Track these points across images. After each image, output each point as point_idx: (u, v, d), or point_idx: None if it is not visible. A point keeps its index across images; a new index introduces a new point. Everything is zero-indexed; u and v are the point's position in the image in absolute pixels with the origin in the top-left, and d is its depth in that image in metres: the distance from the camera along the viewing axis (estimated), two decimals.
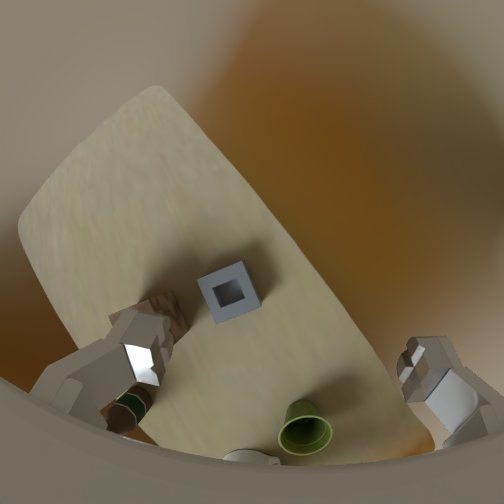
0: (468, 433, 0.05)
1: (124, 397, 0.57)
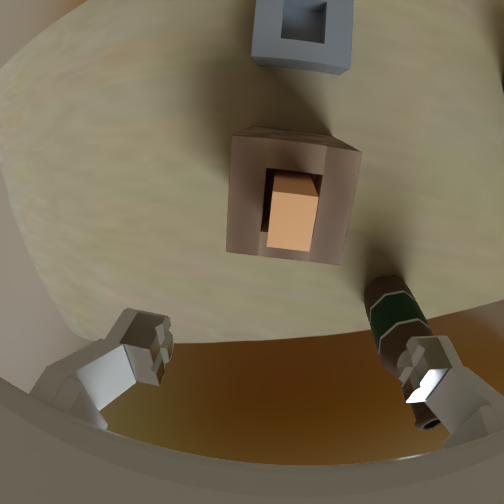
0: (468, 433, 0.05)
1: (377, 317, 0.36)
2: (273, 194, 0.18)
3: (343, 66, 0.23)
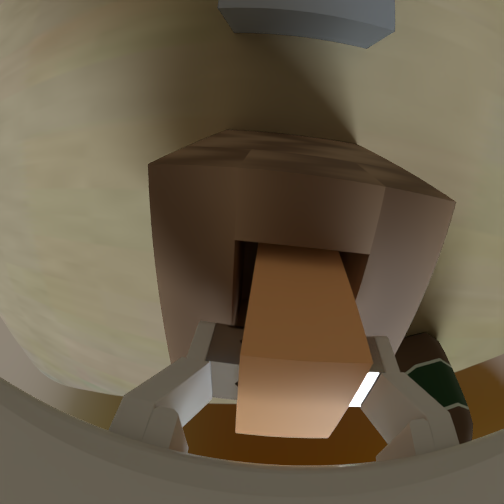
0: (398, 449, 0.05)
1: None
2: (243, 361, 0.06)
3: (383, 26, 0.11)
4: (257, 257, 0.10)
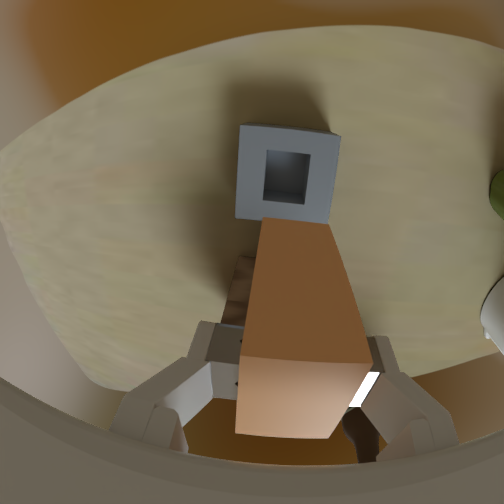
0: (398, 449, 0.05)
1: None
2: (242, 361, 0.06)
3: None
4: (257, 257, 0.10)
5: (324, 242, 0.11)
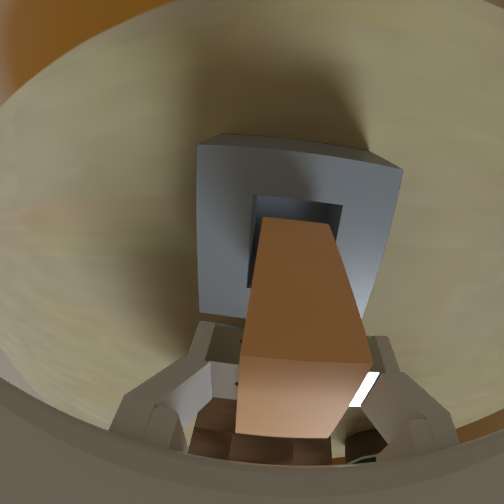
0: (398, 449, 0.05)
1: None
2: (242, 361, 0.06)
3: None
4: (257, 257, 0.10)
5: (324, 242, 0.11)
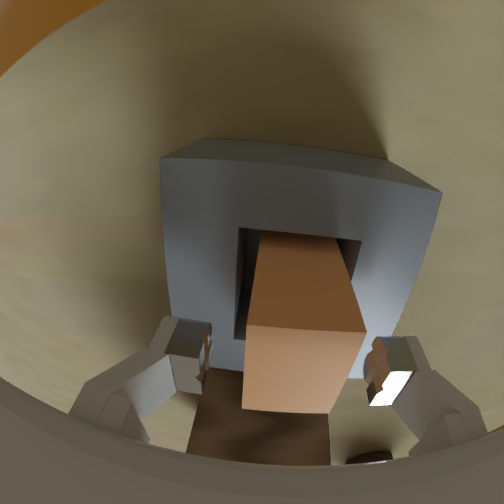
0: (433, 442, 0.05)
1: None
2: (249, 330, 0.07)
3: (357, 376, 0.13)
4: (260, 244, 0.10)
5: None
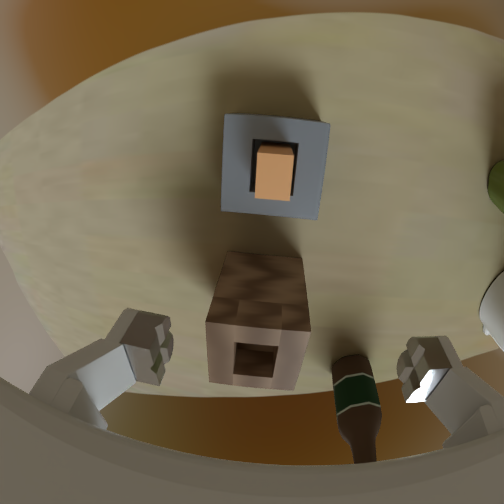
0: (468, 433, 0.05)
1: (337, 395, 0.42)
2: (258, 155, 0.23)
3: (310, 218, 0.29)
4: (260, 146, 0.26)
5: (286, 145, 0.28)
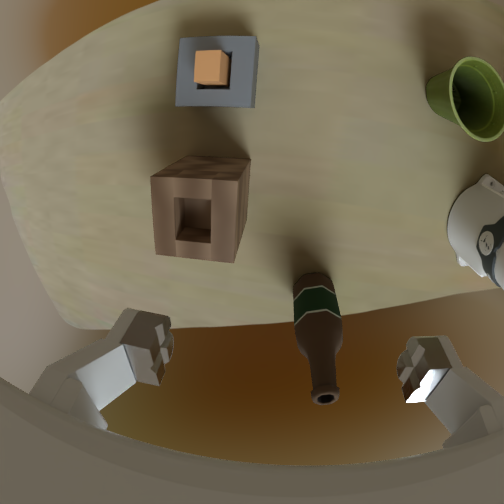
0: (468, 433, 0.05)
1: (296, 307, 0.45)
2: (196, 52, 0.27)
3: (245, 106, 0.33)
4: None
5: None
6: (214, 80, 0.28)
